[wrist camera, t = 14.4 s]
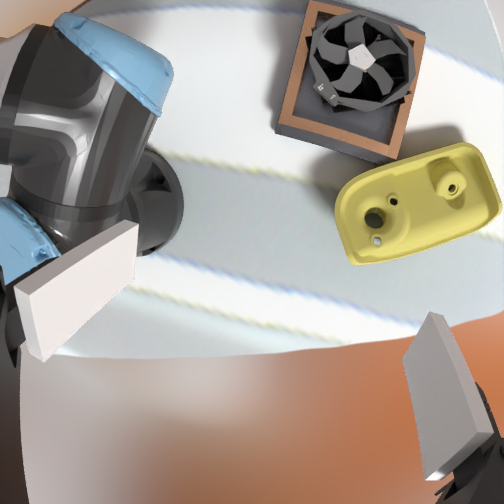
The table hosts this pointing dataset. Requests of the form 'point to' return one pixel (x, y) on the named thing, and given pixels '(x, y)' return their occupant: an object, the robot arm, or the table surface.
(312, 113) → the board
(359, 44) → the cpu cooler
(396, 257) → the plastic component
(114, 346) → the table surface
